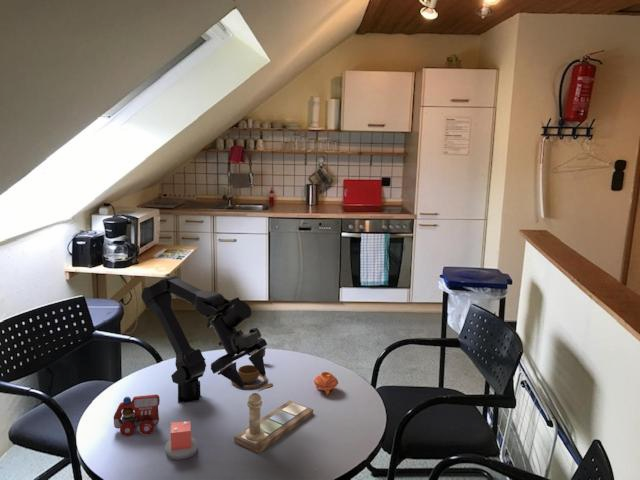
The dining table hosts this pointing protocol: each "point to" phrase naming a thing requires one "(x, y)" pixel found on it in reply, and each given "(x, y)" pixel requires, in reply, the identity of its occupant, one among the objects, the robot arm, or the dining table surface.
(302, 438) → the dining table surface
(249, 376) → the place setting
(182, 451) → the orange cube on disc
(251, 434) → the pawn
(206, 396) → the dining table surface
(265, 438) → the game board
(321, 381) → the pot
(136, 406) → the toy fire truck
